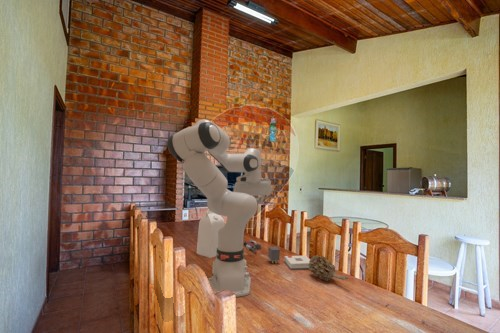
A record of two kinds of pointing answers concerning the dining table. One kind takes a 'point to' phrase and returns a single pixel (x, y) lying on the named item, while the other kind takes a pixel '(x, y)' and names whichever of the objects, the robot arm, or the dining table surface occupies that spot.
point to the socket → (297, 262)
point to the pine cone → (323, 268)
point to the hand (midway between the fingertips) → (252, 203)
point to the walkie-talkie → (252, 245)
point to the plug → (274, 254)
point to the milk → (209, 234)
